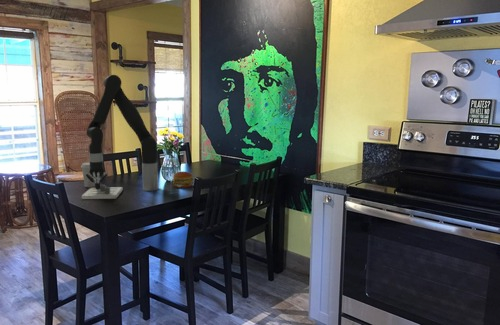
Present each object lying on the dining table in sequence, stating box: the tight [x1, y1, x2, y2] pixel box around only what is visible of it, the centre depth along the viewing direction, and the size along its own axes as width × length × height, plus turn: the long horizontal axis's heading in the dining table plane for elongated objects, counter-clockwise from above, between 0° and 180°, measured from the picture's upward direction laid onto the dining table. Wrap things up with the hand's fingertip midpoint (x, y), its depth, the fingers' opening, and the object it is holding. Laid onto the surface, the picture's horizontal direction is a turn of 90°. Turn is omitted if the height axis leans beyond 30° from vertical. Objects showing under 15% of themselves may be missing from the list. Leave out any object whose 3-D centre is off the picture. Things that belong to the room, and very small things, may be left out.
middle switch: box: [100, 183, 107, 191], centre depth 248 cm, size 2×3×4 cm
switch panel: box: [81, 186, 123, 200], centre depth 249 cm, size 19×20×2 cm
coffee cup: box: [80, 161, 95, 188], centre depth 269 cm, size 10×10×15 cm
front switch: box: [105, 185, 110, 194], centre depth 243 cm, size 2×3×4 cm
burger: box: [172, 171, 194, 189], centre depth 270 cm, size 14×14×10 cm
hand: (97, 189), depth 248 cm, fingers closed
